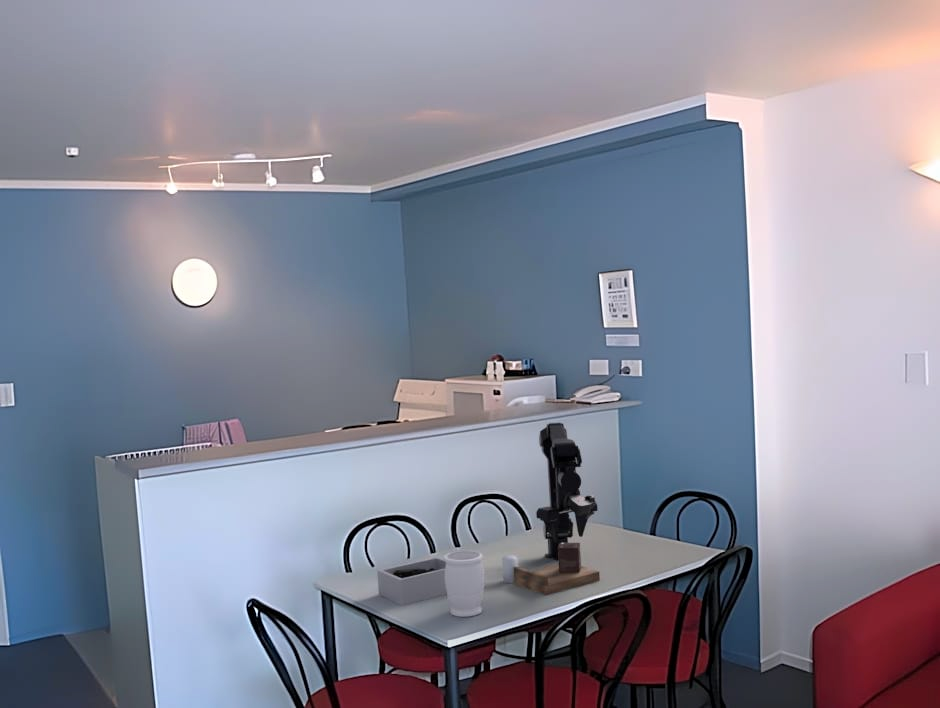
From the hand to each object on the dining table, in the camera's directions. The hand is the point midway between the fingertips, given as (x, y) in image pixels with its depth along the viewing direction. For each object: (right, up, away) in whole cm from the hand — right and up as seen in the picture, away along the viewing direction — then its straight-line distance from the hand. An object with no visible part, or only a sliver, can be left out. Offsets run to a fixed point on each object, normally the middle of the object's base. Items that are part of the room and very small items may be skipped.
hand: (568, 539), depth 259 cm
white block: (-17, -12, +1) cm, 21 cm away
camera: (-42, -15, -5) cm, 45 cm away
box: (0, -9, +1) cm, 9 cm away
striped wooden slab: (-4, -12, -2) cm, 13 cm away
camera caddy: (-42, -14, -5) cm, 45 cm away
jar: (-29, -14, -24) cm, 41 cm away
